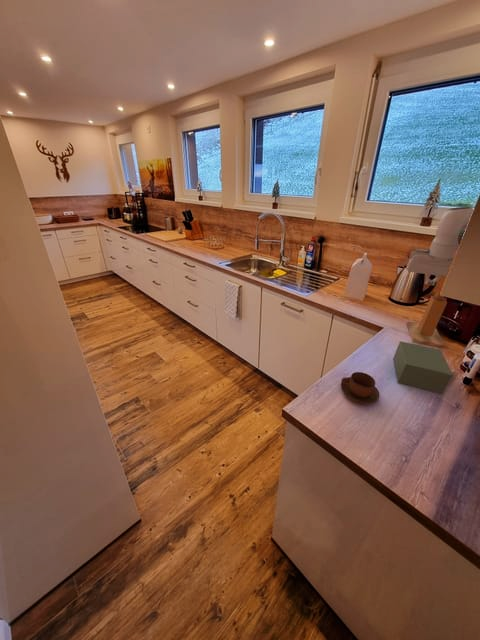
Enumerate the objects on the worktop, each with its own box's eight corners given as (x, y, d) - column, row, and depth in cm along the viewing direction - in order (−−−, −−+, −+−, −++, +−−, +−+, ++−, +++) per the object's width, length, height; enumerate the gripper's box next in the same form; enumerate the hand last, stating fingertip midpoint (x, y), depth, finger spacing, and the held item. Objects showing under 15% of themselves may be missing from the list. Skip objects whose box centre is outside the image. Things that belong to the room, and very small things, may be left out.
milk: (362, 300, 156) (375, 257, 144) (343, 296, 161) (353, 254, 149) (365, 294, 166) (377, 253, 153) (346, 290, 170) (356, 250, 158)
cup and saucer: (347, 406, 83) (351, 392, 80) (334, 380, 93) (338, 367, 90) (384, 407, 83) (390, 393, 80) (368, 381, 93) (372, 367, 91)
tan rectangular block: (429, 331, 124) (446, 292, 115) (431, 336, 120) (450, 296, 111) (417, 328, 126) (433, 290, 116) (419, 333, 122) (436, 294, 112)
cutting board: (433, 329, 129) (434, 326, 128) (443, 348, 114) (445, 345, 114) (406, 323, 133) (407, 321, 132) (412, 341, 118) (413, 339, 117)
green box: (392, 358, 106) (399, 341, 102) (431, 367, 102) (440, 349, 98) (397, 383, 93) (406, 364, 89) (442, 394, 89) (453, 374, 85)
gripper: (413, 250, 103) (402, 283, 110) (476, 256, 97) (460, 291, 103) (411, 246, 108) (400, 278, 115) (470, 252, 102) (455, 286, 109)
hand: (429, 284), depth 109 cm, fingers closed
